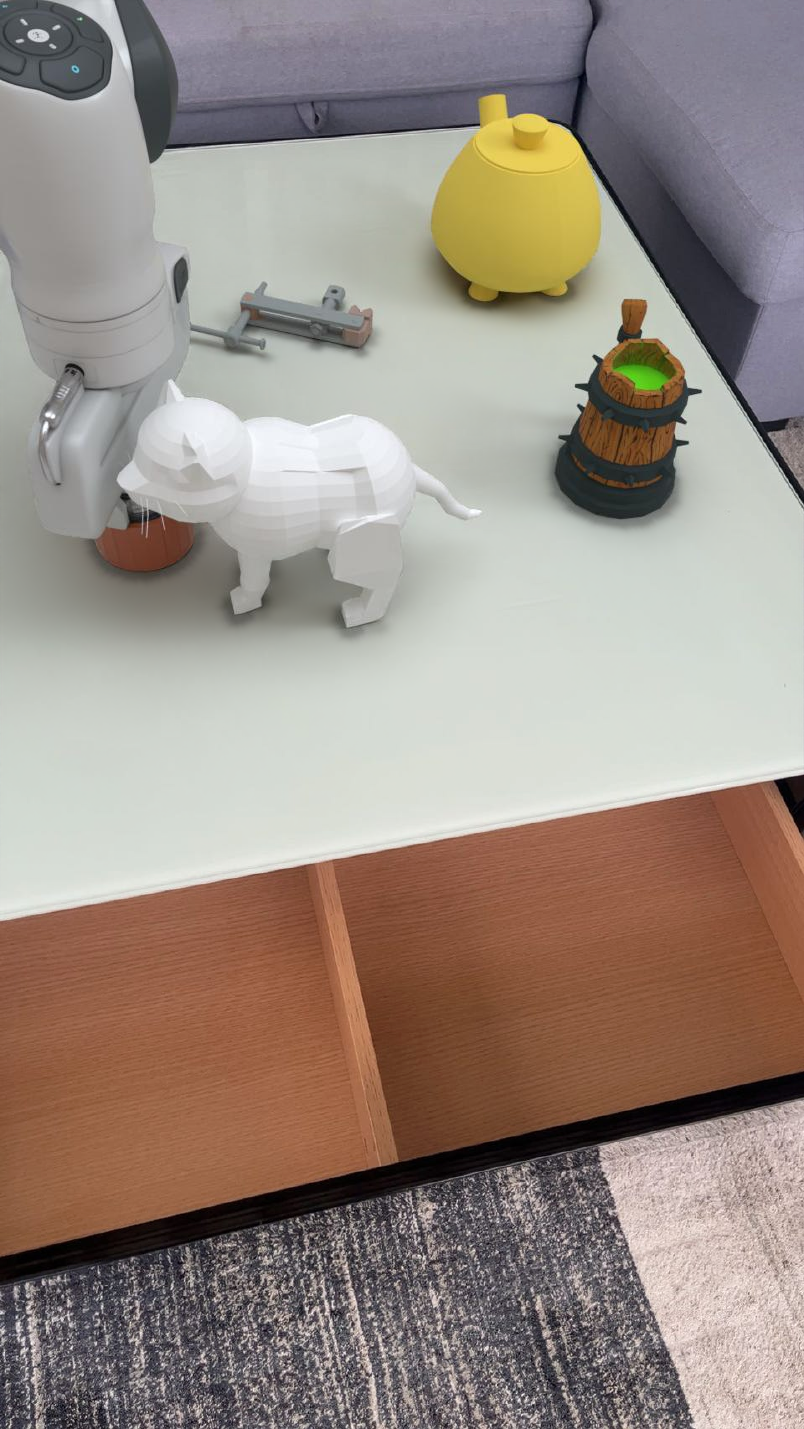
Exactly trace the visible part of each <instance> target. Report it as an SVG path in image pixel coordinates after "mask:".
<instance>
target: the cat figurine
mask: <svg viewBox="0 0 804 1429" xmlns="http://www.w3.org/2000/svg"><path fill="white" fill-rule="evenodd" d="M128 443H130V442H128ZM132 444H133V443H132ZM133 447H134V445H133ZM134 450H135V451H134V454H133V458H132V461H131V460H130V461H131V462H130V463H129V464H128V465H127V466H126V467H125V466H124V465H123V466H124V467H125V468H124V469H123V470H122V471H121V472H120V473H119V474H118V477H117V482H118V483H119V485H120V486H121V487H122V488H123V489H124V490H125V491H126V492H127V493H128V495H129V497H130V498H131V499H132V500H133V501H134V502H135V503H136V504H139V505H141V506H143V507H146V508H147V511H148V509H150V510H153V511H155V512H158V513H160V514H161V516H162V515H165V516H167V517H170V518H172V519H175V520H177V521H180V522H182V521H183V522H191V523H195V524H198V523H199V524H200V523H209V524H210V526H211V527H212V529H213V530H214V531H215V533H216V535H217V536H219V537H220V538H221V539H222V540H223V541H224V542H225V544H227V545H229V546H230V548H232V549H233V550H235V551H237V552H236V553H237V558H238V563H239V564H238V565H239V569H240V576H239V582H240V586H237V587H236V588H234V589H232V590H231V591H229V594H230V602H231V605H232V606H231V607H232V610H233V613H234V616H236V615H242V614H245V613H248V612H250V611H253V610H256V609H259V608H260V607H262V597H263V595H264V594H265V592H266V590H267V589H268V587H269V585H270V583H271V576H270V572H271V567H272V562H273V561H281V560H283V561H284V560H286V559H288V558H290V557H293V556H297V555H299V554H301V553H304V552H307V551H309V550H313V549H314V548H318V549H323V550H328V551H329V552H328V555H327V557H326V559H327V563H328V565H329V568H330V571H331V574H332V576H333V580H337V581H339V582H342V583H347V584H350V585H355V586H358V587H361V588H362V590H361V592H360V595H359V597H357V596H356V597H350V598H349V599H347V600H344V601H343V602H341V614H342V615H341V616H342V618H343V621H344V625H345V627H346V628H352V627H357V626H358V627H359V626H361V625H364V624H368V623H371V622H375V621H378V620H380V619H381V618H382V617H384V616H385V614H386V612H387V609H388V607H389V605H390V602H391V600H392V598H393V596H394V594H395V591H396V589H397V587H398V584H399V581H400V577H401V576H402V573H403V569H404V558H403V548H402V547H403V546H402V538H401V531H402V529H403V528H404V526H405V524H406V523H407V521H408V519H409V518H410V516H411V513H412V510H413V508H414V503H415V500H416V494H417V492H418V493H420V494H423V495H426V496H429V497H431V498H434V499H435V501H437V503H438V504H439V506H440V507H441V508H442V510H443V511H444V512H445V513H446V514H447V515H450V516H452V517H455V518H456V519H457V518H458V519H460V520H461V521H468V520H471V519H475V518H478V517H479V516H480V515H481V514H482V513H483V512H482V510H481V509H476V508H468V507H466V506H465V505H463V504H462V503H460V502H459V501H457V500H456V499H455V498H454V497H453V496H452V494H451V493H450V491H449V489H448V488H447V487H446V486H445V484H444V483H443V482H441V481H440V480H438V479H436V478H435V477H434V476H432V475H431V474H429V473H428V472H427V471H425V470H423V469H422V468H421V467H419V466H418V465H417V464H415V463H414V462H413V461H412V458H411V455H410V454H409V452H408V450H407V448H406V446H405V444H403V442H402V441H401V439H400V438H399V437H398V436H397V435H396V434H395V433H394V432H393V431H392V430H391V429H390V428H388V427H387V426H386V425H384V424H383V423H381V422H379V421H377V420H376V419H374V418H370V417H367V416H365V415H359V414H351V413H345V414H343V415H342V414H341V415H339V416H336V417H333V418H329V419H326V420H323V421H319V422H317V423H314V424H310V425H306V424H302V423H299V422H295V421H292V420H288V419H285V418H282V417H278V416H259V417H253V418H249V419H247V420H243V421H242V420H241V419H240V418H239V416H237V415H236V413H234V412H233V411H232V410H230V409H229V408H228V407H226V406H225V405H223V404H220V403H219V402H218V401H217V402H216V401H214V400H212V399H209V398H203V397H193V396H191V397H190V396H189V397H185V396H184V394H183V392H182V391H181V390H180V388H179V387H178V385H177V384H176V383H175V382H174V381H173V380H172V379H170V380H168V381H167V382H165V383H164V384H163V387H162V391H161V394H160V397H159V400H158V403H157V406H156V409H155V410H154V411H153V412H151V413H150V414H149V415H148V416H147V417H146V418H145V420H144V421H143V422H142V424H141V426H140V429H139V433H138V439H137V446H136V449H135V448H134ZM124 452H126V451H124ZM127 453H128V452H127ZM128 456H129V454H128ZM129 459H130V457H129ZM119 463H120V462H119ZM115 464H117V463H115ZM120 464H121V463H120ZM121 465H122V464H121ZM143 507H142V510H143ZM162 520H163V518H162ZM163 525H164V523H163ZM147 529H148V520H147ZM142 530H143V517H142ZM164 530H165V527H164ZM146 538H147V535H146Z"/></svg>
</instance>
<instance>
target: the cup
mask: <svg viewBox="0 0 804 1429" xmlns="http://www.w3.org/2000/svg"><path fill="white" fill-rule="evenodd" d="M162 518H163V520H162ZM163 523H164V525H163ZM164 527H165V530H164ZM146 535H147V538H146ZM195 538H196V523H191V522H183V521H182V522H180V521H177V520H175V519H172V518H170V517H167V516H165V515H163V516H161V517H159V518H158V519H154V520H151V521H148V529H147V522H144V523H143V530H142V523H130V524H128V526H127V528H126V529H125V530H121V529H115V528H109V527H107V526H106V528H105V530H104V532H103V534H102V535H101V536H100V537H99V538H96V539H93V541H94V543H95V546H96V549H97V551H98V553H99V555H101V557H102V558H103V560H105V561H106V562H108V563H109V564H110V565H112V566H114V567H117V568H119V569H122V570H125V571H129V572H152V571H158V570H160V569H164V568H166V567H167V568H168V567H169V566H172V565H173V564H175V563H176V562H178V561H180V560H181V559H182V558H183V557H185V555H186V554H187V553H188V552H189V551H190V550H191V548H192V546H193V544H194V543H195Z"/></svg>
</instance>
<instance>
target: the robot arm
mask: <svg viewBox="0 0 804 1429" xmlns="http://www.w3.org/2000/svg"><path fill="white" fill-rule="evenodd" d="M178 104H179V76H178V72H177V68H176V64H175V61H174V57H173V55H172V53H171V50H170V47H169V45H168V42H167V41H166V38H165V37H164V34H163V33H162V31H161V29H160V27H159V25H158V24H157V22H156V20H155V18H154V16H153V15H152V13H151V11H150V10H149V8H148V6H147V4H146V3H145V2H144V0H2V1H0V251H1V252H2V254H3V255H4V256H5V258H6V260H7V262H8V265H9V270H10V271H9V272H10V285H11V289H12V293H13V296H14V301H15V305H16V307H17V311H18V314H19V319H20V321H21V325H22V328H23V332H24V336H25V339H26V340H25V341H26V343H27V346H28V350H29V353H30V358H31V359H32V361H33V362H34V364H35V366H36V367H37V369H39V370H40V371H41V372H42V373H44V374H45V375H46V376H47V377H48V378H51V379H52V380H55V383H54V385H53V386H52V388H51V390H50V391H49V393H48V395H47V397H46V399H45V400H44V402H43V404H42V406H41V407H40V409H39V411H38V412H37V414H36V416H35V417H34V419H33V421H32V424H31V426H30V429H29V431H28V434H27V435H28V436H27V441H26V442H27V443H26V456H27V465H28V472H29V477H30V483H31V488H32V493H33V498H34V501H35V505H36V510H37V514H38V518H39V520H40V523H41V526H43V528H44V529H46V530H47V531H49V532H51V533H54V534H57V535H62V536H66V537H71V538H77V539H89V540H94V539H96V538H99V537H100V536H101V535H102V534H103V532H104V530H105V528H106V526H107V527H109V528H115V529H121V530H125V529H126V528H127V526H128V524H129V522H130V520H131V517H132V515H133V509H132V503H131V498H129V497H122V496H121V494H122V492H123V490H124V489H123V488H122V487H121V486H120V485H119V483H118V482H117V477H118V474H119V473H120V472H121V471H122V470H123V469H124V468H125V467H126V466H127V465H128V464H129V463H130V462H131V461H132V458H133V454H134V451H135V450H134V448H135V449H136V446H137V439H138V433H139V429H140V426H141V424H142V422H143V421H144V420H145V418H146V417H147V416H148V415H149V414H150V413H151V412H153V411H154V410H155V409H156V406H157V403H158V400H159V397H160V394H161V391H162V387H163V384H164V383H165V382H167V381H168V380H170V379H172V380H173V381H174V383H175V382H176V381H177V378H178V376H179V374H180V372H181V370H182V368H183V365H184V364H185V362H186V359H187V358H188V354H189V349H190V344H191V343H190V341H191V330H190V322H191V319H190V318H191V317H190V316H191V314H190V301H189V293H188V292H189V291H188V287H187V285H188V282H189V280H190V278H191V273H192V269H191V258H190V252H189V250H188V249H187V247H184V246H180V245H176V244H172V243H168V242H163V241H157V240H156V239H155V236H154V219H155V213H156V195H155V188H154V181H153V174H152V168H151V164H153V163H156V161H158V160H159V159H160V158H161V156H162V155H163V154H164V151H165V150H166V148H167V145H168V142H169V140H170V137H171V134H172V131H173V128H174V125H175V120H176V116H177V110H178ZM128 442H130V443H128ZM132 443H133V444H132ZM133 445H134V447H133ZM124 451H126V452H124ZM127 452H128V453H127ZM128 454H129V456H128ZM129 457H130V459H129ZM130 460H131V461H130ZM119 462H120V463H121V464H122V465H121V464H120V463H119ZM115 463H117V464H115ZM123 465H124V466H125V467H124V466H123Z"/></svg>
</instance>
